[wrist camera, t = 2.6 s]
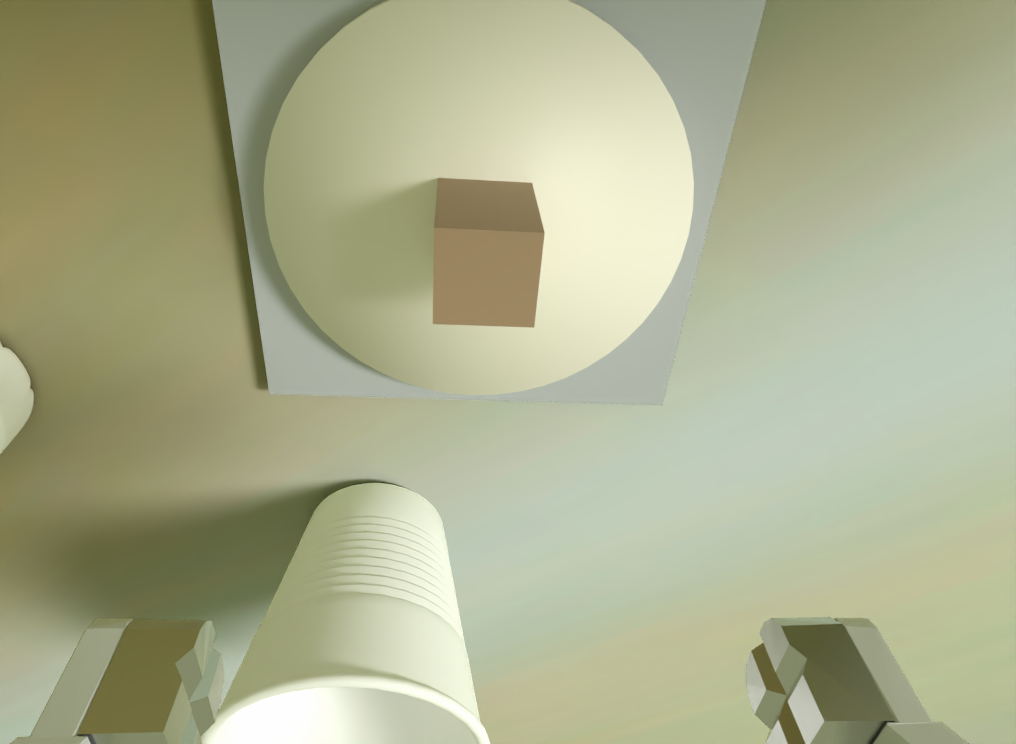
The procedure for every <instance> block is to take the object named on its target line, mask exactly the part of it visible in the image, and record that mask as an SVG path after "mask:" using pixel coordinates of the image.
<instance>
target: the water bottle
mask: <svg viewBox="0 0 1016 744" xmlns="http://www.w3.org/2000/svg"><path fill="white" fill-rule="evenodd" d="M30 384H31V382H30V377H29V375H28V373H27V371H26V369H25V367H24V366H23V364H22V362H21V361H20V360H19V358H18V357H17V356H16V355H15V353H14V352H13V351H11V350H10V349H8V348H6V347H3V346H2V345H1V342H0V454H1V453H2V452H3V450H4V449H5V448H6V447H7V446H8V445H9V443H10V442H11V441H12V440H13V438H14V437H15V436H16V435H17V434H18V433H19V431H20V430H21V429H22V427H23V426H24V425H25V423H26V422H27V420H28V418H29V416H30V414H31V411H32V408H33V403H34V393H33V390H32V389H31V388H30Z"/></svg>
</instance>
